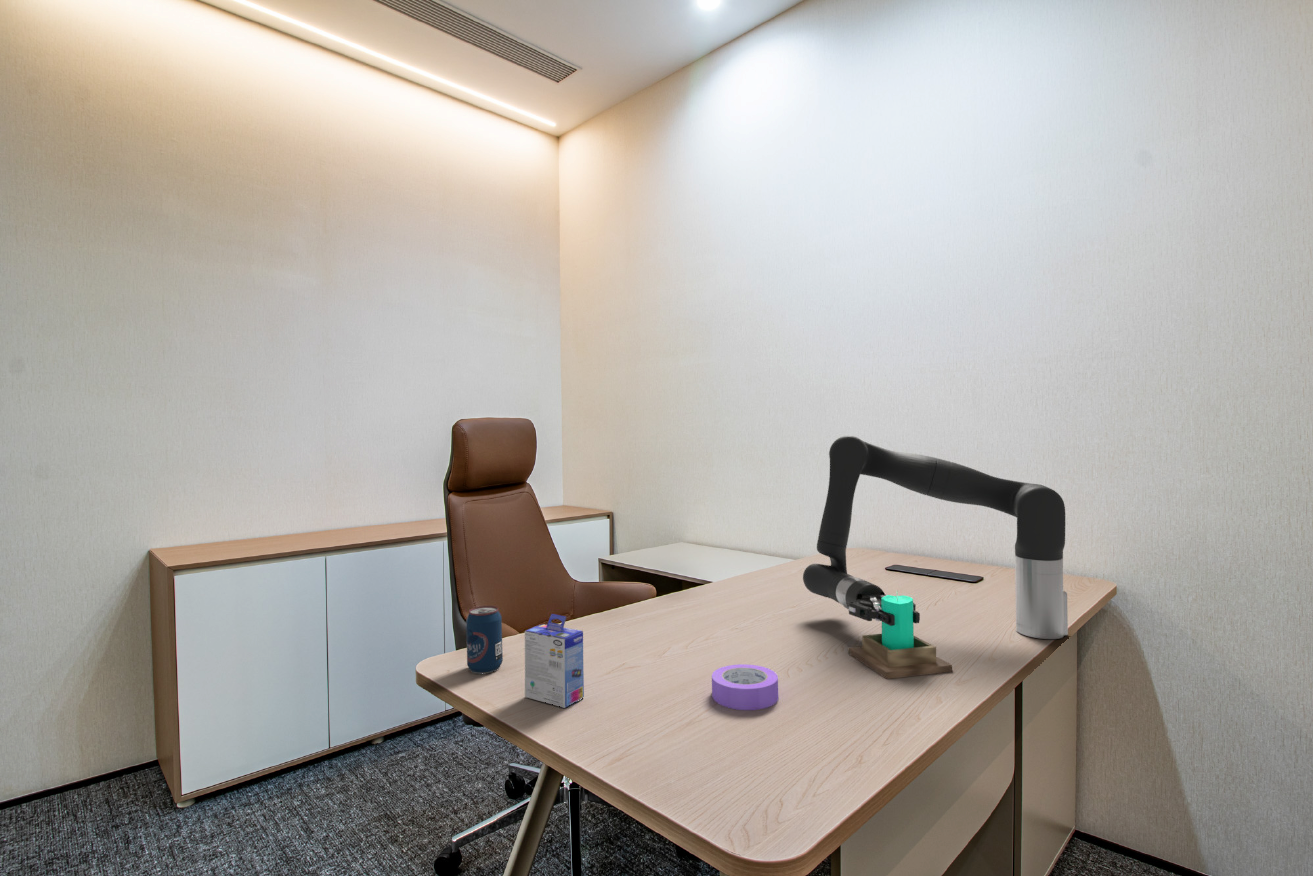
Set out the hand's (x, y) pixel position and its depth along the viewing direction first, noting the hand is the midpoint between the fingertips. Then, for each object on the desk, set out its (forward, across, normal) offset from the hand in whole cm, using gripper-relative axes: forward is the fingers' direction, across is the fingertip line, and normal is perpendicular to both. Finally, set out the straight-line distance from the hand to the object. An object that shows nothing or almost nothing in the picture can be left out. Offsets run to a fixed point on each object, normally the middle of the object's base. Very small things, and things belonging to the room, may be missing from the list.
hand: (905, 619), depth 124 cm
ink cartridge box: (-3, -68, +10) cm, 69 cm away
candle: (-3, 0, +7) cm, 8 cm away
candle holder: (-3, 0, +9) cm, 10 cm away
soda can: (-21, -81, +10) cm, 84 cm away
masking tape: (+4, -35, +10) cm, 37 cm away
